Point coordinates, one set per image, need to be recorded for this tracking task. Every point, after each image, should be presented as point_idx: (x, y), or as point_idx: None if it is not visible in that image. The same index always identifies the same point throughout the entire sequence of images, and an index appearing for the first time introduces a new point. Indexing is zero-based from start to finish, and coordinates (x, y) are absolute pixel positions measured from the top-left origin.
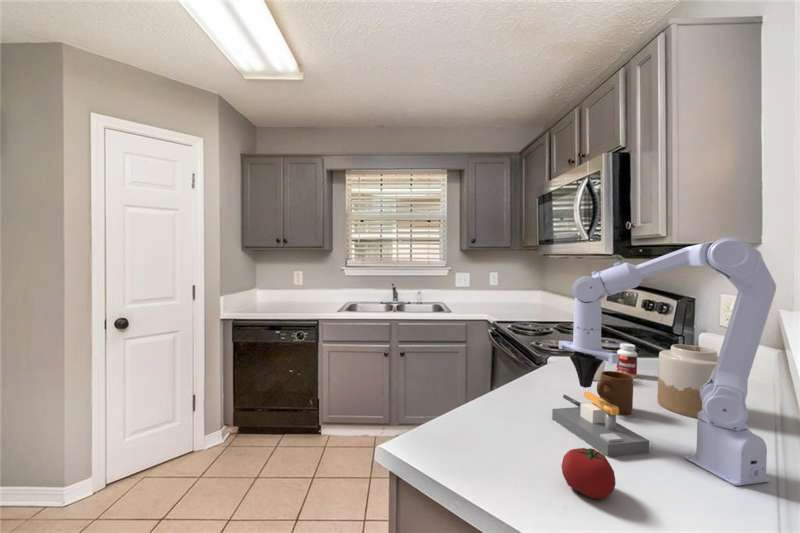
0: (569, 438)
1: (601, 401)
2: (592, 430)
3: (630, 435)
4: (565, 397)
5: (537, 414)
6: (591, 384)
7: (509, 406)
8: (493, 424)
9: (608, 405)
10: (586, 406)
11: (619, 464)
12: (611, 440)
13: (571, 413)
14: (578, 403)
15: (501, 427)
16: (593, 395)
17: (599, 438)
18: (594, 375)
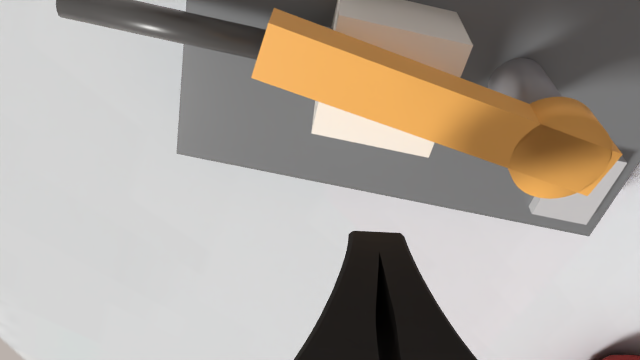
0: (387, 207)
1: (466, 139)
2: (470, 184)
3: (631, 54)
4: (93, 23)
5: (123, 148)
6: (408, 250)
7: (6, 200)
8: (184, 346)
9: (540, 162)
10: (364, 141)
11: (625, 207)
12: (591, 209)
13: (266, 108)
14: (238, 55)
15: (214, 340)
16: (348, 80)
17: (536, 221)
18: (438, 308)
